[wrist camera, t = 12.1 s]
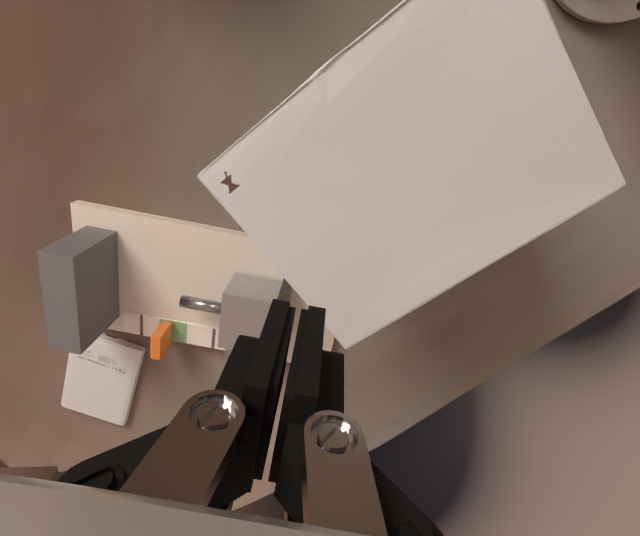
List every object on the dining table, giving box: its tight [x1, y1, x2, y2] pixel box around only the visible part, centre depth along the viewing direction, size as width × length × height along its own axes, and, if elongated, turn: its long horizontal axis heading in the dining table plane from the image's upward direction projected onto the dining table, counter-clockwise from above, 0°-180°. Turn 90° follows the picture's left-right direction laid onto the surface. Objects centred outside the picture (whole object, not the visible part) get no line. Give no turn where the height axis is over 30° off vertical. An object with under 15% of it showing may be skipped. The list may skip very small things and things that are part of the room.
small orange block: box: [150, 321, 172, 360], centre depth 42 cm, size 1×3×3 cm, turn 169°
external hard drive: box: [61, 333, 146, 426], centre depth 48 cm, size 2×8×12 cm
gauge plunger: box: [179, 273, 292, 356], centre depth 39 cm, size 10×10×6 cm
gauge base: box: [37, 200, 334, 363], centre depth 39 cm, size 28×14×8 cm, turn 80°
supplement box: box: [197, 0, 626, 349], centre depth 27 cm, size 17×13×18 cm
